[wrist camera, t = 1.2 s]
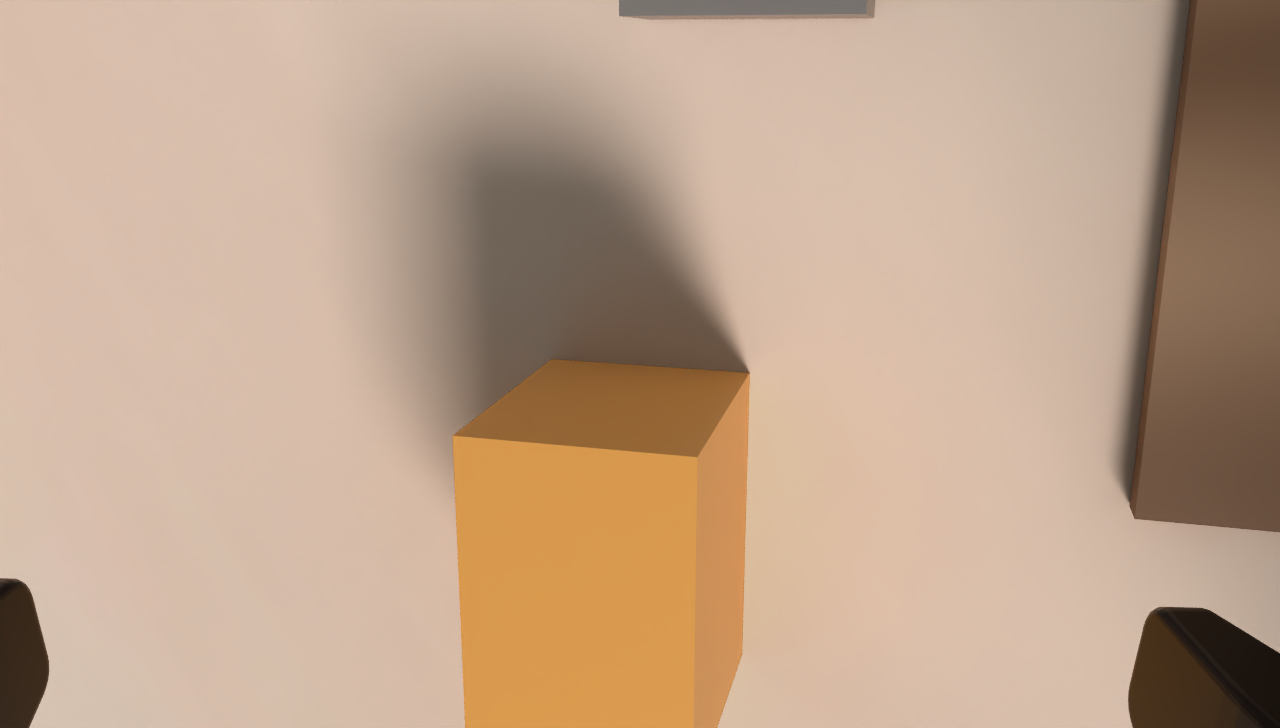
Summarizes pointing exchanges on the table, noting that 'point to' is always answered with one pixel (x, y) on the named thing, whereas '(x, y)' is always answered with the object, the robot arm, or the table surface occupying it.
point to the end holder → (1218, 285)
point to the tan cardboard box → (603, 547)
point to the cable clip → (746, 9)
